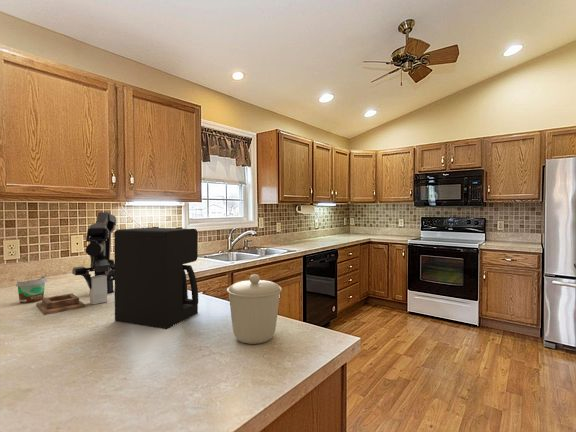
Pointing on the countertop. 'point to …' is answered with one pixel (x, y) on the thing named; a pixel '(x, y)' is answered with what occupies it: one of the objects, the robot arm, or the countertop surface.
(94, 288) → the skincare box
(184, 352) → the countertop surface
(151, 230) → the coffee maker
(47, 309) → the frame
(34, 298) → the food container
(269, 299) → the canister
